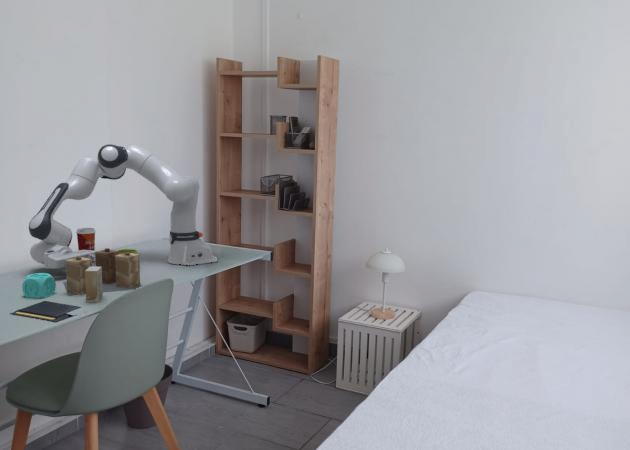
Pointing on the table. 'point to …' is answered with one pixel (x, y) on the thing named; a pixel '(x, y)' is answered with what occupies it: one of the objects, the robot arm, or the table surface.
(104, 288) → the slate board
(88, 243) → the coffee cup
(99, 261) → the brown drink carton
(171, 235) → the robot arm
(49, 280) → the decorative dice
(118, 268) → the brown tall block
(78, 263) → the light brown wooden canister
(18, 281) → the table surface
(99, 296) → the skincare box
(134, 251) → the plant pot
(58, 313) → the dark grey book
